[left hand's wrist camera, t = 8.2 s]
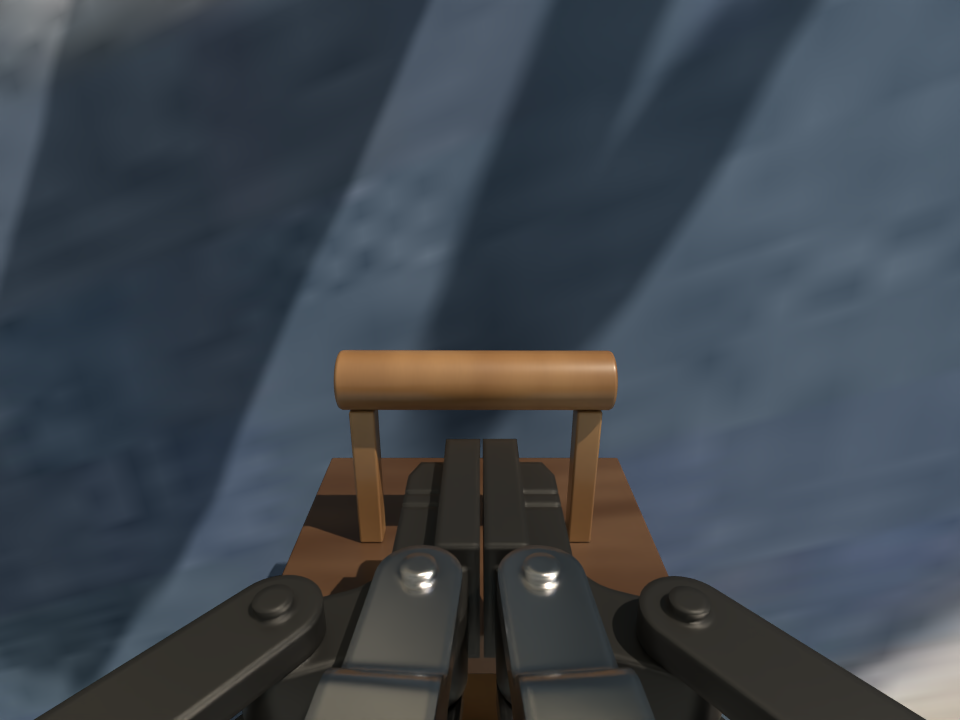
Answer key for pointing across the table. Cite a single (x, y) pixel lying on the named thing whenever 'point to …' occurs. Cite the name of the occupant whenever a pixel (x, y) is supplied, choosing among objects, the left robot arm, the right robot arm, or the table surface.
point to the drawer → (480, 386)
